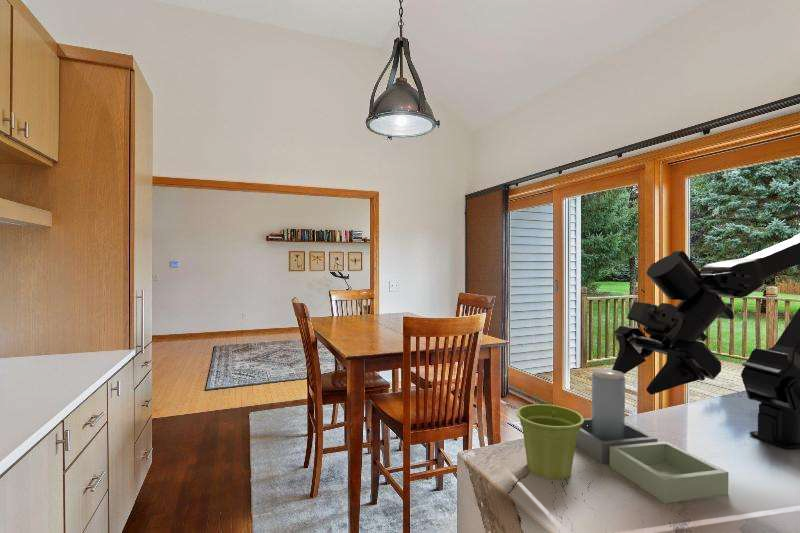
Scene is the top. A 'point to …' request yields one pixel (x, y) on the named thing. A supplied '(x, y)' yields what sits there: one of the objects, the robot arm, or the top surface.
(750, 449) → the top surface
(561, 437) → the plant pot
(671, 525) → the top surface
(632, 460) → the sage bin
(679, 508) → the top surface
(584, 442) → the charcoal bin
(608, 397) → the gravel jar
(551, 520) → the top surface
